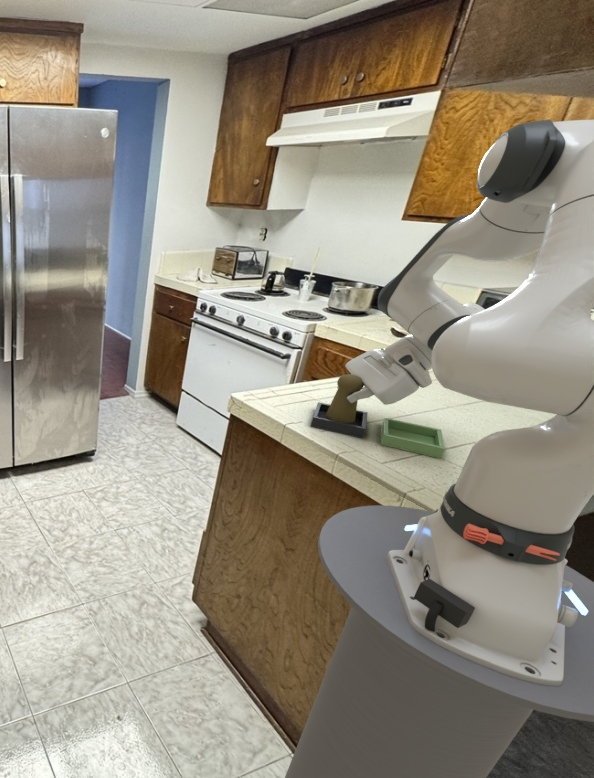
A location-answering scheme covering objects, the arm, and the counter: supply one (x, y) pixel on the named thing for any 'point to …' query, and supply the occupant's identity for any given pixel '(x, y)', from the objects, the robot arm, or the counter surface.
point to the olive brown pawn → (345, 399)
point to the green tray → (412, 437)
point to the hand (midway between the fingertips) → (343, 395)
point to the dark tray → (326, 423)
